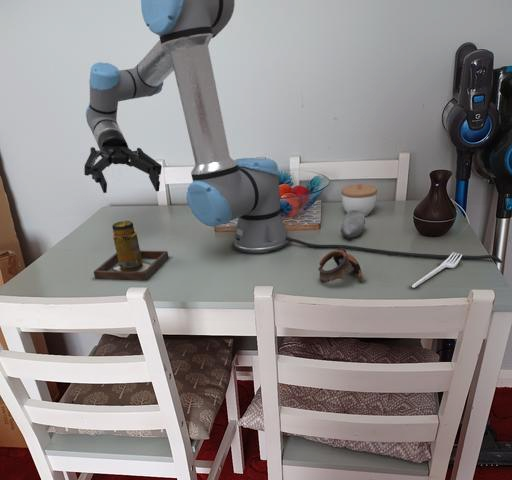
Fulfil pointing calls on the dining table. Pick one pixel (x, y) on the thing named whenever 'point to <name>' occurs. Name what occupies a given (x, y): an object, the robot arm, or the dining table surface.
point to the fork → (440, 268)
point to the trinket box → (359, 198)
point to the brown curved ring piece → (339, 265)
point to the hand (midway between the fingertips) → (132, 187)
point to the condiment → (127, 248)
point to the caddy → (124, 275)
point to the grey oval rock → (353, 223)
